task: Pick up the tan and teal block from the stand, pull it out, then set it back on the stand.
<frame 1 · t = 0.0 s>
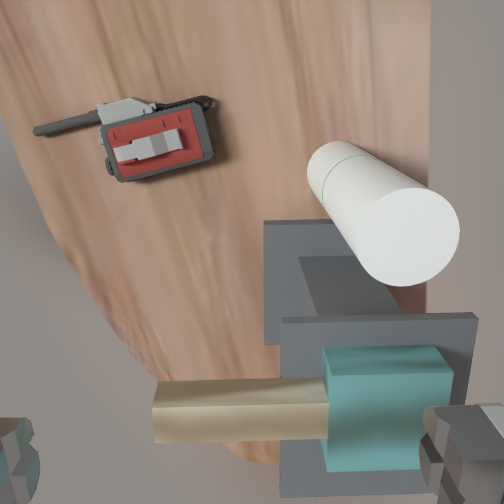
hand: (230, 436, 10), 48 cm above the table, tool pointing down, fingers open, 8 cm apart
walkie-talkie: (132, 138, 55), on the table
stand: (319, 280, 61), on the table
cylindrical container: (337, 171, 57), on the table
tan and teal block: (267, 395, 36), point 26 cm above the table, touching stand
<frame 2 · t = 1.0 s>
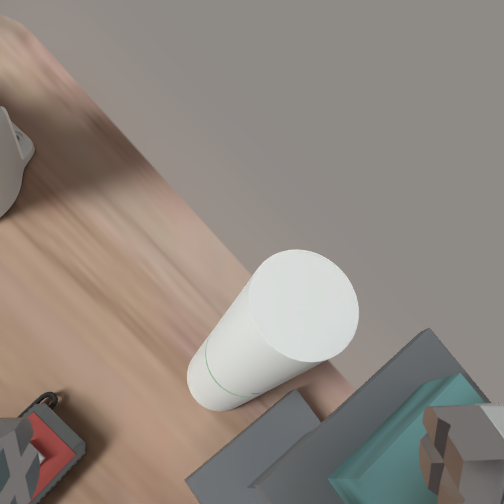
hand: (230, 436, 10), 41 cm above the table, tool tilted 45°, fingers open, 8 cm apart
stand: (288, 501, 48), on the table
cylindrical container: (220, 376, 51), on the table
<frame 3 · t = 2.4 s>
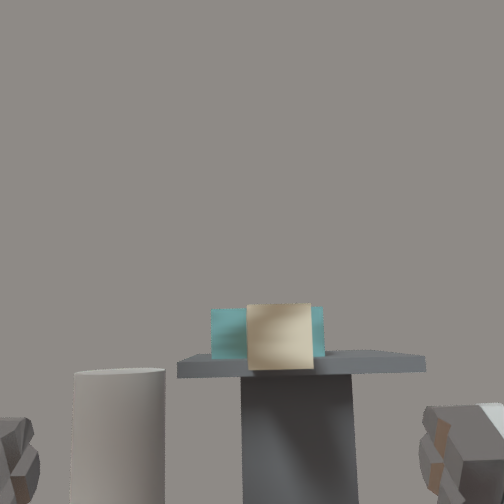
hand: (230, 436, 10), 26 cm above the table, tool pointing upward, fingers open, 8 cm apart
tan and teal block: (271, 360, 30), point 26 cm above the table, touching stand
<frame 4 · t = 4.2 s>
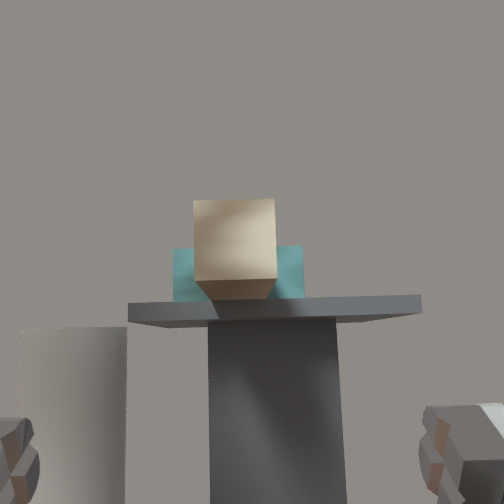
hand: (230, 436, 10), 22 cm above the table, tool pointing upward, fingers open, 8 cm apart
tan and teal block: (238, 298, 25), point 26 cm above the table, touching stand
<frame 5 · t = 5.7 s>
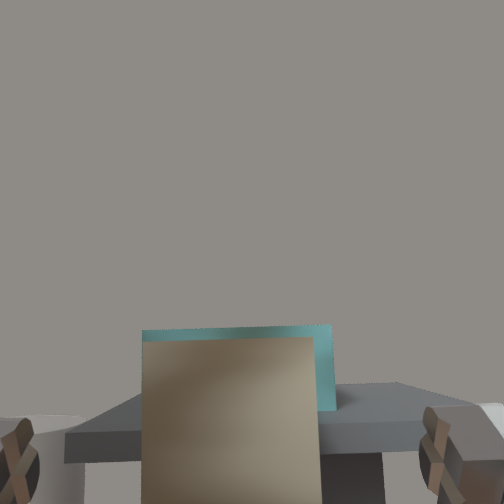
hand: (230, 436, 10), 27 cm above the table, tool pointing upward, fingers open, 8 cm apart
tan and teal block: (238, 432, 16), point 26 cm above the table, touching stand
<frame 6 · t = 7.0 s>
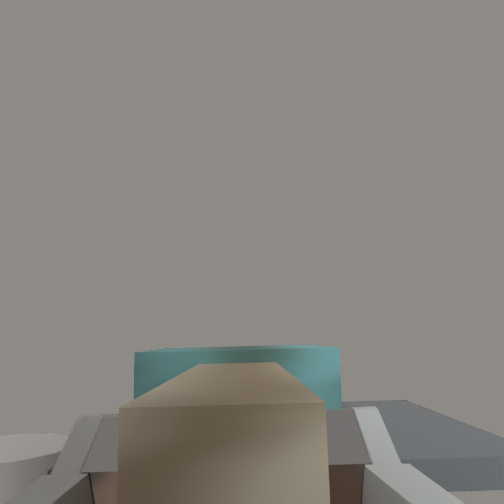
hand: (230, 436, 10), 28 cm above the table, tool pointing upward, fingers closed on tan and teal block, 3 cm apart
tan and teal block: (236, 473, 14), point 26 cm above the table, touching gripper, stand
when the fingers open (29 cm above the table, at t = 14.4 s): tan and teal block stays where it is, resting on stand.
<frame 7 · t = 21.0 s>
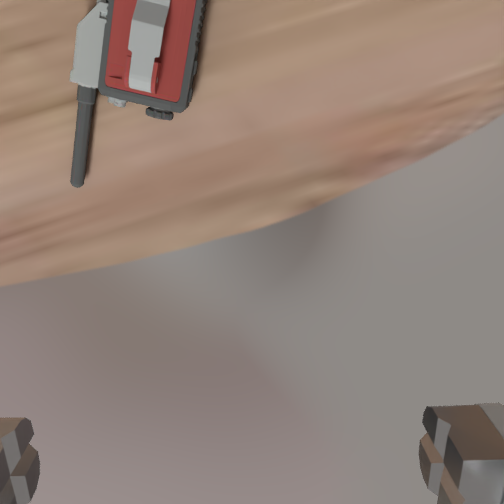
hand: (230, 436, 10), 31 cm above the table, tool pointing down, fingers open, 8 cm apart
walkie-talkie: (139, 66, 37), on the table
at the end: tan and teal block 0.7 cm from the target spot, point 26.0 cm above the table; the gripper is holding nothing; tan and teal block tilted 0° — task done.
